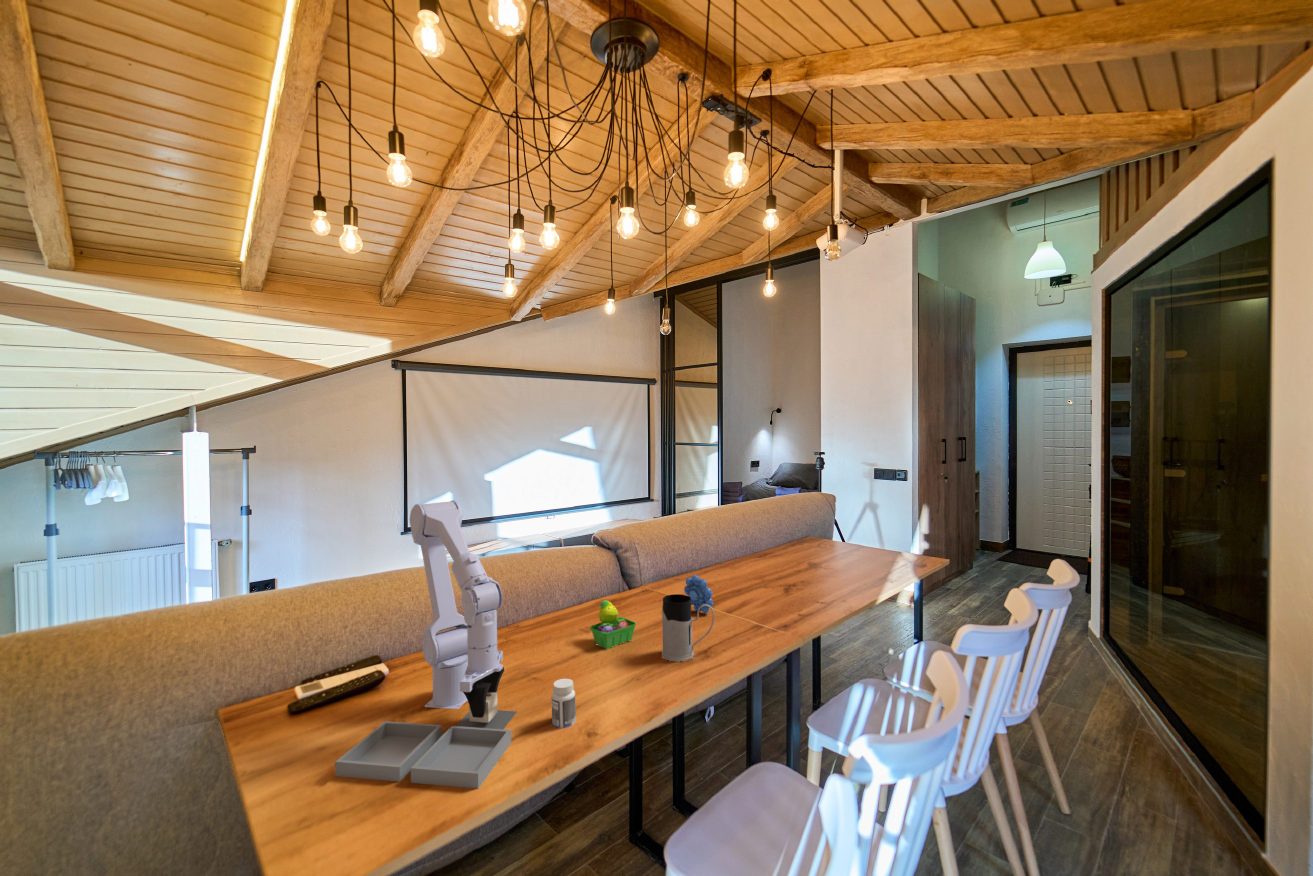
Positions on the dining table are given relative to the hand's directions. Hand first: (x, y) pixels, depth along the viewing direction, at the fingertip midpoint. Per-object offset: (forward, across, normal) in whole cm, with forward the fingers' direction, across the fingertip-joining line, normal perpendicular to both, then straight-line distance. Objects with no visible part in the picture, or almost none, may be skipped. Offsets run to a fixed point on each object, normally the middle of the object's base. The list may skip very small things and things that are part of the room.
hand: (483, 710), depth 107 cm
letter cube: (+1, 0, 0) cm, 1 cm away
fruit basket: (+3, +46, -16) cm, 48 cm away
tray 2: (+3, -12, -2) cm, 13 cm away
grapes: (+3, +72, -38) cm, 82 cm away
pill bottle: (+3, +2, -16) cm, 17 cm away
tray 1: (+3, -12, +12) cm, 17 cm away
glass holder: (+3, +38, -38) cm, 54 cm away
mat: (+3, 0, 0) cm, 3 cm away
